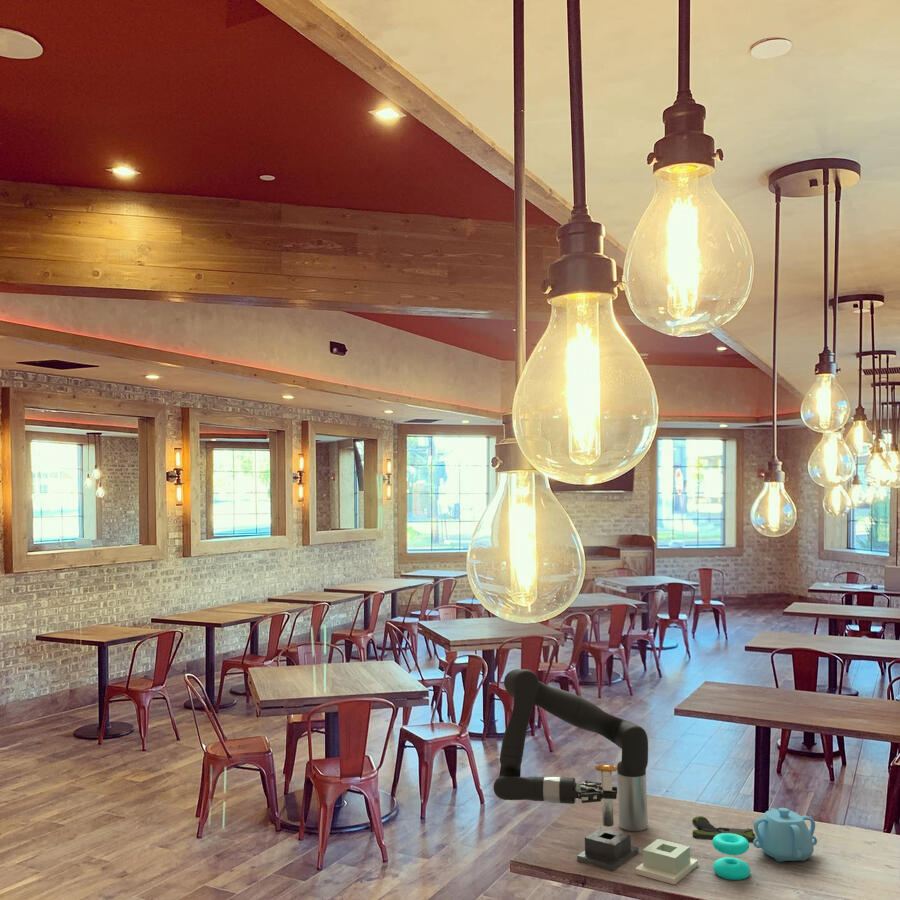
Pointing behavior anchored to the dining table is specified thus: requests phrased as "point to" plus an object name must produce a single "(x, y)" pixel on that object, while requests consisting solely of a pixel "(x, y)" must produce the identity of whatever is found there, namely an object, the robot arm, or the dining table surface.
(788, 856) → the decorative pot
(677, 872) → the pale green socket base
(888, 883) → the dining table surface
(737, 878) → the donuts
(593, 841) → the block
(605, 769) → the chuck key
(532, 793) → the robot arm
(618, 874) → the dining table surface
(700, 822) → the gun
